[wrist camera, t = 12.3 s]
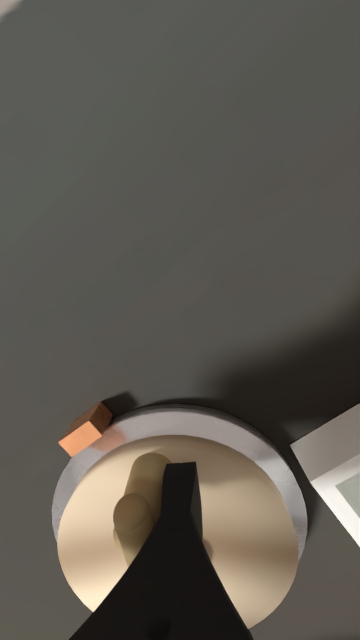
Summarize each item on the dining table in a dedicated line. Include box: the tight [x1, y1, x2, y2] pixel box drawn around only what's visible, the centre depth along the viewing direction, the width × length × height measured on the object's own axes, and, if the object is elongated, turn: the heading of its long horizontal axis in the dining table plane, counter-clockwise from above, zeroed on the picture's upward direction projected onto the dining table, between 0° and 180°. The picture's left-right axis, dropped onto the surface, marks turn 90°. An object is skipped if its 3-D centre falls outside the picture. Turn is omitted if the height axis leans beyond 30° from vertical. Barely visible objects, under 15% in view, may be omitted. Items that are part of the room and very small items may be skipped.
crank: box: [57, 435, 299, 629], centre depth 12 cm, size 13×12×5 cm
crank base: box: [52, 402, 307, 562], centre depth 15 cm, size 15×14×2 cm
